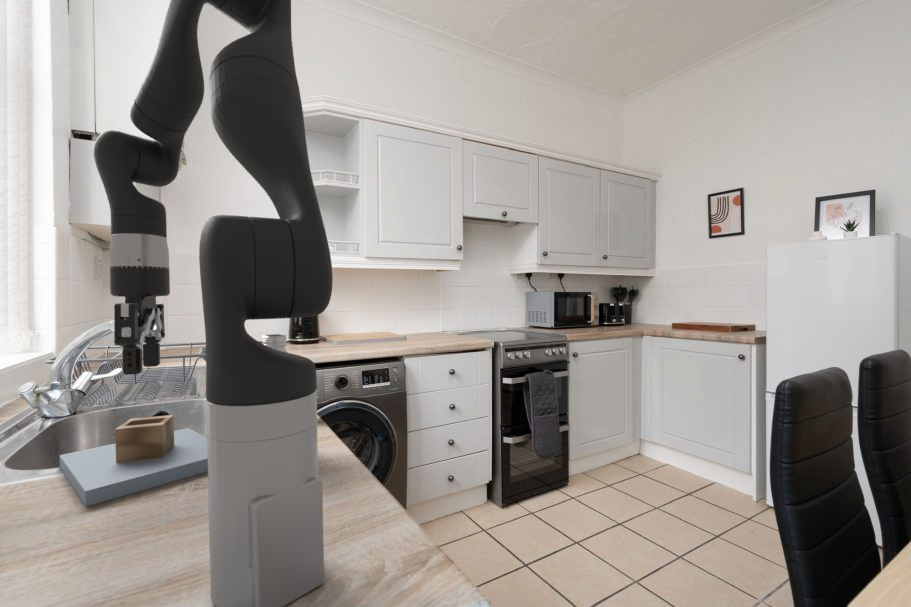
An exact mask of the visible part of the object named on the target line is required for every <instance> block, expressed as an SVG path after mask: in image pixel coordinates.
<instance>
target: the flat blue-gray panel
mask: <svg viewBox="0 0 911 607" xmlns="http://www.w3.org/2000/svg"><path fill="white" fill-rule="evenodd" d="M59 469H60V470H61V472H62V474H63V475H64V477H66V478H65V479H66V480H67V481H68V483H69V484H70V486H71V487H72V489H73V490H74V492H75V493H76V494H77V496H78V498H79V499H80V501H81V503H82V504H83V505H84V507H86V508H87V507H90V506H94V505H97V504H101V503H104V502H108V501H111V500H115V499H118V498H121V497H126V496H128V495H129V496H130V495H132V494H136V493H139V492H143V491H145V490H149V489H152V488H156V487H160V486H163V485H166V484H169V483H174V482H177V481H180V480H184V479H187V478H190V477H194V476H198V475H201V474H203V473H208V458H207V436H205V435H203V434H201V433H199V432H197V431H195V430H193V429H191V428H190V427H186V428H181V429H177V430H174V446H173V447H172V448H171V449H170V450H169V452H168V453H167V454H166V455H165V456H164V457H163V458H154V459H146V460H137V461H128V462H120V463H116V442H115V443H112V444H106V445H102V446H96V447H91V448H88V449H82V450H78V451H74V452H69V453H64V454H60V455H59Z"/></svg>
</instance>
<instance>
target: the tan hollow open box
mask: <svg viewBox="0 0 911 607" xmlns="http://www.w3.org/2000/svg"><path fill="white" fill-rule="evenodd" d="M174 420H175V417H174V414H170V415H167V414H166V415H157V416H145V417H133V418H130V419H128V420H127V421H125V422H123V423H122V424H121V425H120V426H117V428H114V433H115V435H114V436H115V438H114V439H115V440H114V441H115V443H116V463H120V462H128V461H137V460H146V459H154V458H163V457H164V456H165V455H166V454H167V453H168V452H169V450H170V449H171V448H172V447H173V446H174V431H175V421H174Z"/></svg>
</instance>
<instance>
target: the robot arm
mask: <svg viewBox="0 0 911 607" xmlns="http://www.w3.org/2000/svg"><path fill="white" fill-rule="evenodd" d="M205 4H208V5H209V6H211V7H212V8H214V9H216V10H217V11H219V12H220V13H222V14H223V15H224V16H226V17H228V19H231V20H232V21H233V22H235V23H237V24H238V25H239V26H241V27H242V28H244V30H245V31H246V32H247V34H246V35H244V36H242V37H240V38H237V39H235V40H233V41H232V42H230V43H229V44H227V45H225V46H224V47H223V48H221V50H220V51H219V52H218V53H217V55H215V57H214V58H213V61H212V63H211V64H210V68H209V69H210V70H209V77H208V80H209V81H208V82H209V83H208V84H209V99H210V100H209V101H210V117H211V122H212V125H213V129H214V130H215V133H216V134H217V136H218V138H219V139H220V141H221V142H222V144H223V146H224V147H225V148H226V149H227V150H228V151H229V153H230V154H231V155H232V156H233V157H234V159H235V160H236V161H237V162H238V163H239V164H240V165H241V166H242V168H244V169H245V171H246V172H247V173H248V174H250V176H251V177H252V178H253V180H255V181H256V182H257V183H258V184H259V186H260V187H261V188H262V189H263V190H264V191H265V194H267V196H268V197H269V199H270V200H271V202H272V204H273V206H274V209H275V210H276V213H277V215H278V217H279V218H275V217H273V218H272V217H271V218H270V217H261V216H245V215H234V214H233V215H231V214H229V215H227V214H221V215H220V214H219V215H213V216H211V217H210V218H208V219H207V221H205V223H204V225H203V226H202V230H201V233H200V239H199V246H198V247H199V253H198V254H199V255H198V260H199V273H200V275H199V276H200V288H201V298H202V308H203V309H202V310H203V319H204V320H203V321H204V332H205V333H204V334H205V335H204V336H205V368H206V369H205V399H206V400H205V401H206V403H205V404H206V431H207V432H206V437H207V458H208V472H207V490H208V491H207V492H208V496H207V497H208V499H207V500H208V539H209V542H208V543H209V544H208V546H209V569H210V570H209V572H210V573H209V575H210V598H211V601H212V603H213V605H214V606H215V607H285V606H286V605H288V604H291V603H292V602H294V601H295V600H296V599H299V598H301V597H302V596H304V595H306V594H307V593H309V592H311V591H313V590H314V589H316V588H317V587H320V586H321V585H323V584H324V583H325V554H324V550H325V549H324V545H325V544H324V541H325V540H324V501H323V500H324V497H323V490H324V489H323V481H322V480H321V479H320V478H319V452H318V400H317V399H318V398H317V391H318V390H317V388H318V386H317V385H318V381H317V368H316V367H317V366H316V364H315V363H314V362H313V360H311V359H310V358H308V357H306V356H302V355H299V354H295V353H290V352H288V351H287V352H288V353H287V352H283V351H279V350H276V349H273V348H270V347H268V346H266V345H264V344H262V342H260V341H259V340H256V339H255V338H254V337H253V336H251V335H250V334H249V333H248V332H247V330H246V327H245V323H246V321H249V320H253V321H254V320H255V321H256V320H274V319H275V320H278V319H298V318H299V319H301V318H311V317H315V316H319V315H321V314H323V312H325V310H326V309H327V308H328V306H329V304H330V301H331V297H332V294H333V292H332V291H333V280H334V279H333V265H332V264H333V262H332V257H331V252H330V251H331V250H330V245H329V242H328V238H327V237H328V236H327V232H326V228H325V224H324V220H323V217H322V216H323V215H322V213H321V209H320V205H319V201H318V196H317V193H316V189H315V185H314V180H313V177H312V172H311V167H310V160H309V153H308V147H307V145H308V144H307V138H306V129H305V128H306V127H305V119H304V109H303V103H302V98H301V91H300V86H299V81H298V76H297V71H296V65H295V57H294V46H293V39H292V0H170V1H169V5H168V9H167V12H166V14H165V17H164V22H163V25H162V28H161V33H160V36H159V38H158V39H159V40H158V43H157V47H156V50H155V54H154V56H153V59H152V61H151V64H150V66H149V69H148V71H147V73H146V75H145V77H144V80H143V82H142V83H141V86H140V87H139V89H138V91H137V94H136V95H135V98H134V100H133V101H132V104H131V107H130V109H129V118H130V120H131V123H132V124H133V125H134V127H135V128H136V129H137V130H138V131H140V132H141V133H143V134H144V135H146V136H147V137H149V138H151V139H149V138H145V137H142V136H138V135H135V134H131V133H129V132H128V133H127V132H125V131H120V130H115V129H109V130H105V131H103V132H101V133H100V134H99V135H98V137H97V138H96V139H95V141H94V144H93V159H94V162H95V166H96V169H97V172H98V174H99V177H100V180H101V182H102V185H103V188H104V190H105V191H104V192H105V194H106V197H107V200H108V201H107V202H108V204H109V209H110V211H109V212H110V234H111V235H110V243H109V253H108V254H109V282H110V283H109V290H110V294H111V296H112V297H116V298H117V297H123V298H125V299H124V302H122V303H121V302H116V303H114V307H113V308H114V309H113V310H114V313H113V315H114V321H113V322H114V334H113V335H114V340H113V342H114V345H115V346H119V349H120V350H122V373H123V374H124V375H126V376H128V375H139V374H141V373H143V371H144V370H143V367H145V368H146V367H147V368H148V367H158V366H159V365H161V348H160V347H161V346H160V345H161V344H160V343H162V341H163V339H165V337H166V332H165V330H166V329H165V328H166V327H165V311H164V308H165V305H164V303H163V302H157V300H156V299H157V297H168V296H169V295H170V293H171V281H170V280H171V278H170V252H169V251H170V250H169V246H168V237H167V235H168V234H167V228H168V227H167V226H168V225H167V210H166V207H165V205H164V204H163V203H162V202H161V201H159V200H157V199H154V198H153V197H152V198H151V197H149V196H147V195H145V194H143V193H141V192H140V191H139V190H138V189H137V187H136V186H135V183H136V184H141V185H146V186H151V187H157V188H162V187H165V186H168V185H169V184H171V183H173V182H174V181H175V179H177V176H178V173H179V169H180V168H179V167H180V158H181V154H182V148H183V142H184V139H185V136H186V133H187V132H188V130H189V128H190V126H191V124H192V122H193V121H194V120H195V117H196V116H197V114H198V112H199V110H200V109H201V106H202V103H203V100H204V96H205V77H204V72H203V66H202V62H201V56H200V48H199V39H198V26H199V20H200V16H201V12H202V10H203V8H204V5H205Z"/></svg>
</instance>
